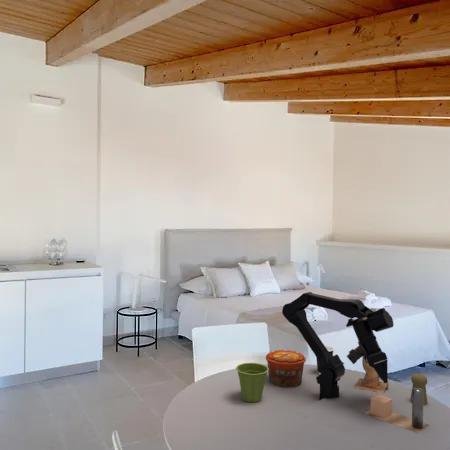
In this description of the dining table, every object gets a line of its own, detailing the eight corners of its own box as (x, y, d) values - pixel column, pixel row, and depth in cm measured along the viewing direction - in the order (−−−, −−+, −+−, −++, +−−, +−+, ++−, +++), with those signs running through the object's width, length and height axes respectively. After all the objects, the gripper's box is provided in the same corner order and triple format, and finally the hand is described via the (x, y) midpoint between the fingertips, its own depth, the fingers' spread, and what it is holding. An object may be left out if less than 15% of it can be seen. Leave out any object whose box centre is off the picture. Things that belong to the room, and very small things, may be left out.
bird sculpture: (357, 383, 178) (356, 303, 178) (388, 387, 173) (387, 305, 173) (353, 393, 168) (351, 309, 167) (386, 398, 163) (384, 311, 162)
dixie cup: (337, 376, 184) (337, 350, 184) (319, 377, 183) (319, 351, 182) (328, 370, 192) (328, 344, 192) (311, 371, 190) (311, 345, 190)
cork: (430, 410, 153) (430, 378, 152) (411, 408, 154) (412, 377, 154) (425, 403, 159) (426, 372, 158) (407, 401, 160) (408, 371, 160)
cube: (370, 413, 147) (370, 398, 147) (378, 409, 150) (378, 394, 150) (384, 418, 143) (384, 403, 143) (392, 414, 146) (392, 398, 146)
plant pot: (231, 402, 158) (231, 371, 158) (242, 390, 169) (242, 361, 169) (262, 408, 153) (263, 375, 153) (272, 395, 164) (272, 365, 164)
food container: (301, 392, 168) (301, 363, 168) (260, 385, 174) (260, 358, 173) (308, 377, 183) (309, 351, 183) (271, 372, 189) (271, 347, 188)
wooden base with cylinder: (363, 416, 147) (364, 378, 147) (376, 409, 152) (376, 372, 152) (418, 437, 134) (418, 394, 133) (429, 428, 139) (430, 388, 139)
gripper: (342, 342, 162) (359, 384, 158) (344, 344, 144) (363, 393, 140) (371, 331, 161) (389, 374, 157) (377, 333, 143) (397, 382, 139)
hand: (384, 381), depth 148 cm, fingers open, 9 cm apart
